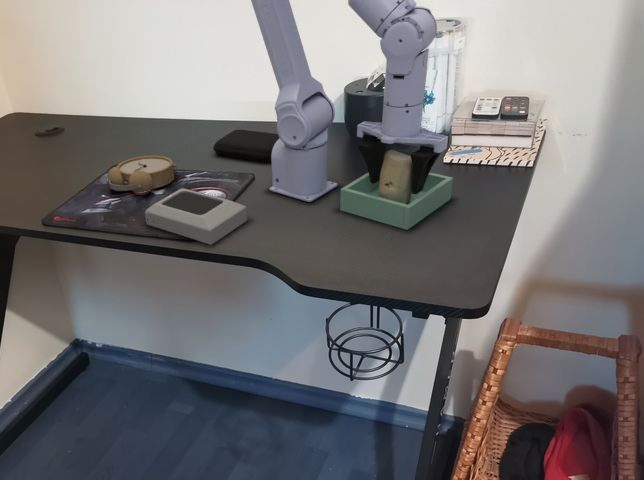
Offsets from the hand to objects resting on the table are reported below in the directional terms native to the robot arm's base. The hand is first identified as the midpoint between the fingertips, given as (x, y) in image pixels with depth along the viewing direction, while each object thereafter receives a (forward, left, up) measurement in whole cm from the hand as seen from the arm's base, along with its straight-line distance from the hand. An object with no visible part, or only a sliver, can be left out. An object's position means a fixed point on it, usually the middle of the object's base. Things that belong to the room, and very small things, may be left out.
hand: (396, 186), depth 103 cm
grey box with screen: (-24, -23, -3) cm, 33 cm away
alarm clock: (-45, -18, -3) cm, 49 cm away
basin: (0, 0, -3) cm, 3 cm away
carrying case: (-37, +6, -3) cm, 38 cm away
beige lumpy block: (0, 0, -3) cm, 3 cm away
